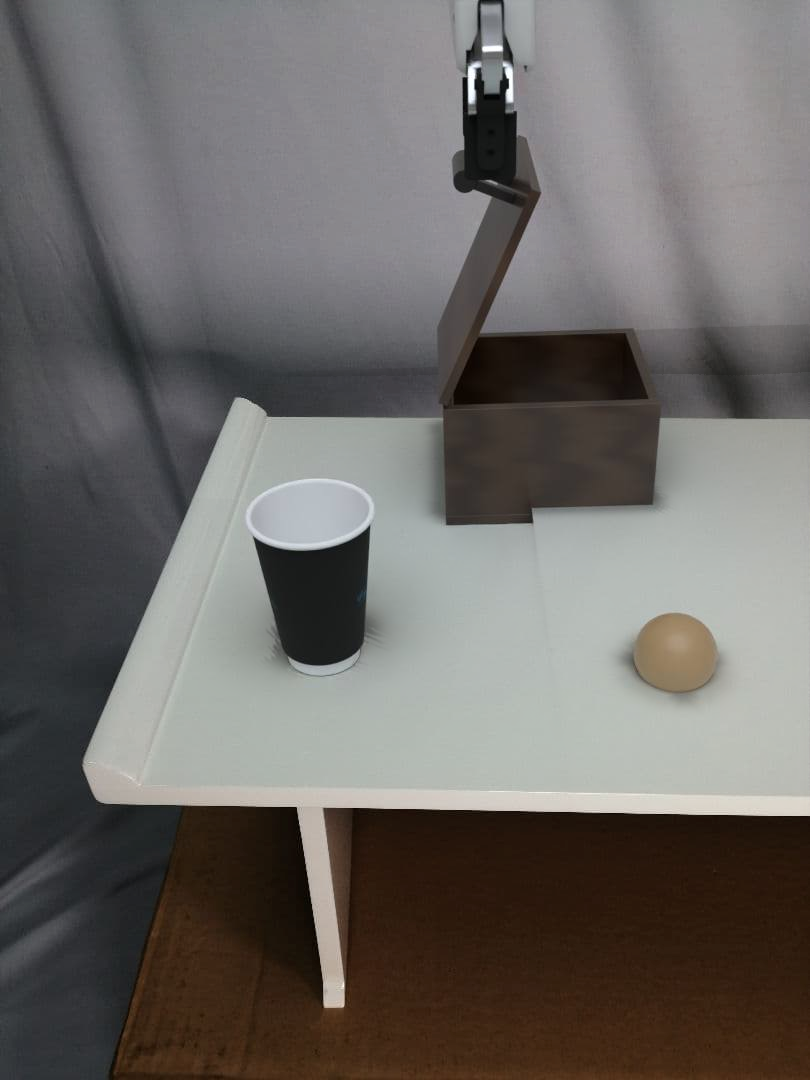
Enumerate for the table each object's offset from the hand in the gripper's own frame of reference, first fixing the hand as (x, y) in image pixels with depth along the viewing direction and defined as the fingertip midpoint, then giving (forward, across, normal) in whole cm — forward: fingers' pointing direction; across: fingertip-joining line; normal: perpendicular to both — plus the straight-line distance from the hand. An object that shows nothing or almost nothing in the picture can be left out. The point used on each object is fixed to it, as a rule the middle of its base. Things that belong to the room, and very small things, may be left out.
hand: (487, 157), depth 77 cm
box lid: (+9, +4, 0) cm, 10 cm away
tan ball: (+27, -22, -11) cm, 36 cm away
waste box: (+27, +4, -4) cm, 27 cm away
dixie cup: (+27, -18, +11) cm, 35 cm away
